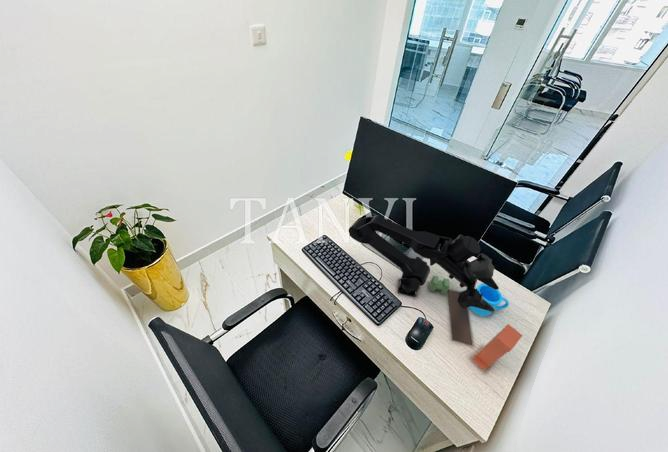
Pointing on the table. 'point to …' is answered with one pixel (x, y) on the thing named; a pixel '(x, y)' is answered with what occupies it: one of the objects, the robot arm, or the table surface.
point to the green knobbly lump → (439, 285)
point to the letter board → (459, 320)
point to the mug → (489, 299)
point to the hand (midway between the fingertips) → (495, 299)
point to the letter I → (497, 347)
